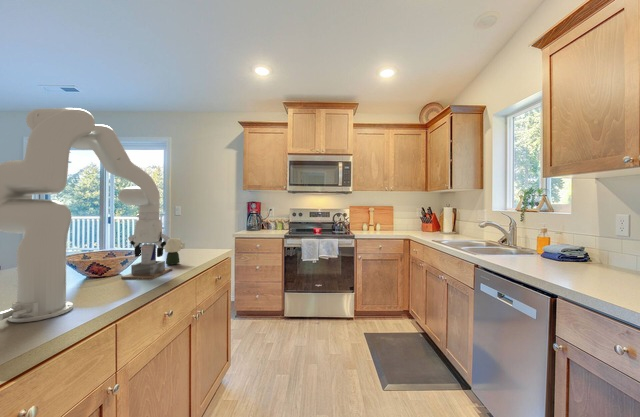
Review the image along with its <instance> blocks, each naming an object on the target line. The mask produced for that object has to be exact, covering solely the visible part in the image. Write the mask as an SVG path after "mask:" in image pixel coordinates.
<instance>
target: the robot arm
mask: <svg viewBox="0 0 640 417" xmlns="http://www.w3.org/2000/svg"><path fill="white" fill-rule="evenodd" d="M25 119H26V124H27V126H28V129H30V131H31V132H30V133H29V136H28V138H27V143H26V147H25V154H24V158H23V159H19V160H17V159H16V160H14V159H13V160H8V161H7V160H5V161H4V162H2V163H0V232H2V233H6V234H24V235H23V237H22V239H21V241H20V242H19V244H18V246H17V250H16V302H13V303H12V306H11V307H10V308H9V309H6V310H3V311H0V321H2V320H5V319H7V321H8V322H11V323H30V322H36V321H37V322H38V321H42V320H47V319H51V318H55V317H57V316H60V315H61V316H62V315H64V314H66V313H68V312H70V311H71V310H73V309H74V303H73V302H71V301H67V243H68V242H67V240H68V234H69V230H70V227H71V224H72V211H71V209H70V208H69V207H68V206H67V205H66V204H65V203H63V202H61V201H57V200H53V199H47V198H45V199H43V198H33V195H54V194H59V193H61V192H63V191H64V190H65V189H66V187H67V182H68V174H69V173H68V172H69V160H70V159H69V158H70V150H71V148H72V149H75V150H92V151H93V153H94V154H95V155H96V157H97V158H98V160H99V161H100V163H101V165H102V166H103V168H104V170H105V171H106V172H108V173H109V174H111V175H114V176H115V177H118V178H121V179H124V180H127V181H129V182H130V183H133V184H134V185H135V186H128V187H123V188H122V189H121V190H120V191H119V192H118V199H119V201H120V202H121V203H122V204H124V205H127V206H138V214H137V213H136V216H135V217H136V218H138V219H137V220H136V222H135V226H134V232H133V234H132V235H130V236H128V240H129V242H130V245H131V246H132V247H133V248H134V257H135V258H136V257H141V254H140V253H141V247H142V245H143V244H155V245H156V258H160V257H163V255H164V249H163V247H165V245H166V244H167V242H168V240H169V239H171V238H170V237H169V236H168V235H166V234H164V232H163V225H162V221H161V219H160V197H161V194H160V190H159V189H158V186H157V183H155V181H154V179H153V178H152V176H151V175H150V174H148V173H147V172H146V171H145V170H143V169H142V168H141V167H140V166H138V165H137V164H135V163H134V162H132V161H131V159H130V157H129V155H128V153H127V151H126V150H125V148H124V146H123V144H122V142H121V141H120V139H119V137H118V135H117V134H116V132H115V131H114V129H113V128H112V127H110V126H108V125H105V124H96V120H95V117H94V116H93V114H92V113H91V112H89V111H87V110H85V109H82V108H77V107H74V108H73V107H61V108H60V107H59V108H58V107H56V108H36V109H33V110H31V111H29V112H28V113H27V115H26V118H25ZM139 254H140V255H139Z"/></svg>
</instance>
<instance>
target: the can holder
mask: <svg viewBox="0 0 640 417" xmlns="http://www.w3.org/2000/svg"><path fill="white" fill-rule="evenodd" d="M130 268H131V269H130V270H131V272H130V273H128V274H126V275H123V276H121V280H153V279H156V278H157V277H160V276H163V275H165V274H166V273H167V274H168V273H169V272H171V271H173V267H166V260H156V263H155V264H152V265H141V261H140V262H137V263H134V264H131V266H130Z"/></svg>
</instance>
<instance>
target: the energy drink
mask: <svg viewBox="0 0 640 417" xmlns="http://www.w3.org/2000/svg"><path fill="white" fill-rule="evenodd" d="M140 247H141V256H140V258H141V260H140V262H141V265H152V264H155V263H156V261H157V245H156V243H143V244H141V246H140Z"/></svg>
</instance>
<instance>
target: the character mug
mask: <svg viewBox="0 0 640 417" xmlns="http://www.w3.org/2000/svg"><path fill="white" fill-rule="evenodd" d="M181 241H182V240H181V238H178V237H177V238H174V237H173V238H172V237H171V238H170V239H169V240H168V242H167V244H166V245H165V246H164V247H163V250H165V253H167V254H166V258H165V259H166V260H165V265H177V264H179V263H180V255H179V252H181V249H182V250H184V249H185V244H186V243H185V242H184V241H183V242H181Z"/></svg>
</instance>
